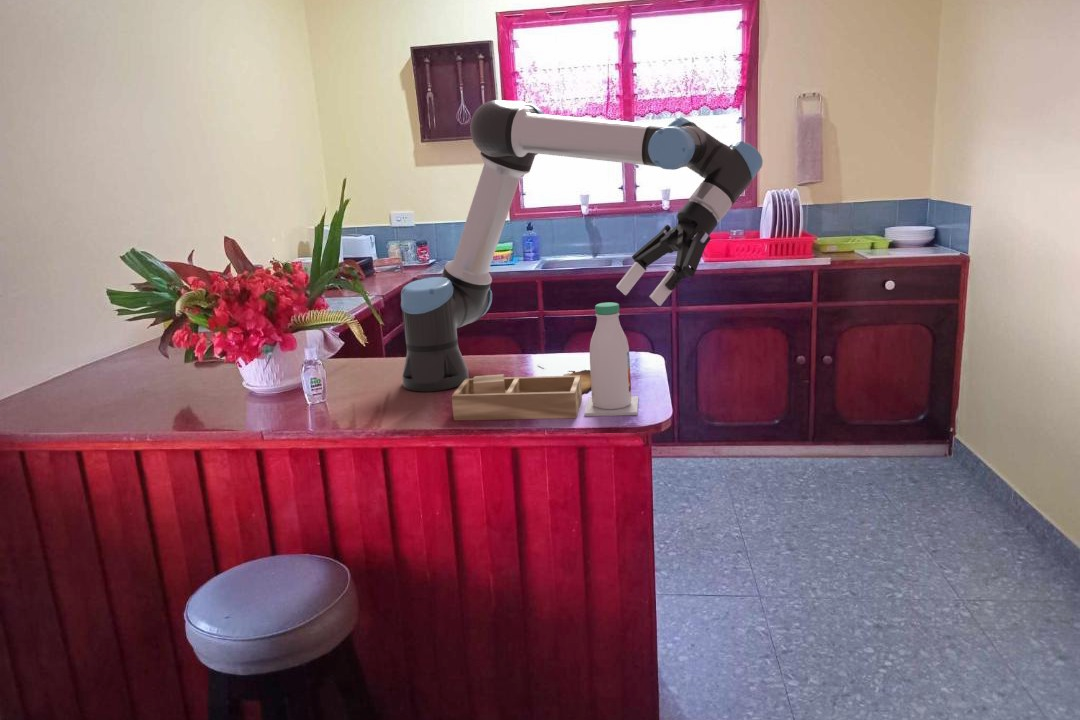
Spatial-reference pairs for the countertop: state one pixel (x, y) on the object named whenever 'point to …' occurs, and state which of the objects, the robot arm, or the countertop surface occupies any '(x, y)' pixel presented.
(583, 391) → the parchment
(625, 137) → the robot arm
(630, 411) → the coaster
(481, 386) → the offcut top
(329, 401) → the countertop surface
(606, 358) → the milk bottle
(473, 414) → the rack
